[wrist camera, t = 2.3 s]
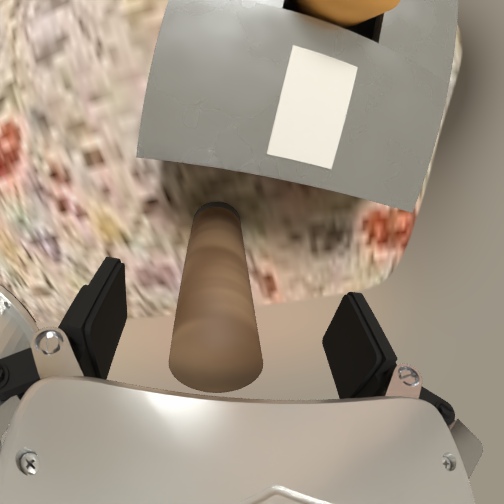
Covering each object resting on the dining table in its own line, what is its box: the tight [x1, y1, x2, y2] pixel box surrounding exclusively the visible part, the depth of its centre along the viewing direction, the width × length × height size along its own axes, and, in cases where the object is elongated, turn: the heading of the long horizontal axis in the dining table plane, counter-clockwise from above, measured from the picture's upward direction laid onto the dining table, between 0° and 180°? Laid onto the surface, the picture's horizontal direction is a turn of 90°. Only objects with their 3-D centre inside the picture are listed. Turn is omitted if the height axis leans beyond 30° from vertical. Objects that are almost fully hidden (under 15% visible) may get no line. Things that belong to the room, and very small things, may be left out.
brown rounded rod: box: [169, 202, 263, 393], centre depth 14 cm, size 3×3×12 cm
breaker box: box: [136, 0, 458, 213], centre depth 11 cm, size 16×14×6 cm
